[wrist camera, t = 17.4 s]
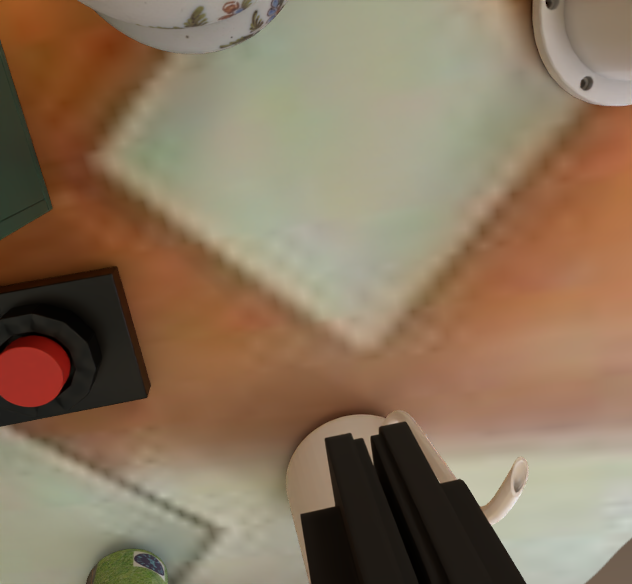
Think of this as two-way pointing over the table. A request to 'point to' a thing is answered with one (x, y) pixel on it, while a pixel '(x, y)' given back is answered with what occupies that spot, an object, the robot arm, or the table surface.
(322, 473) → the coffeepot
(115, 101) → the table surface
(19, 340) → the button
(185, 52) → the apothecary jar
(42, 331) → the switch block
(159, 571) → the beverage can
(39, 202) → the box
